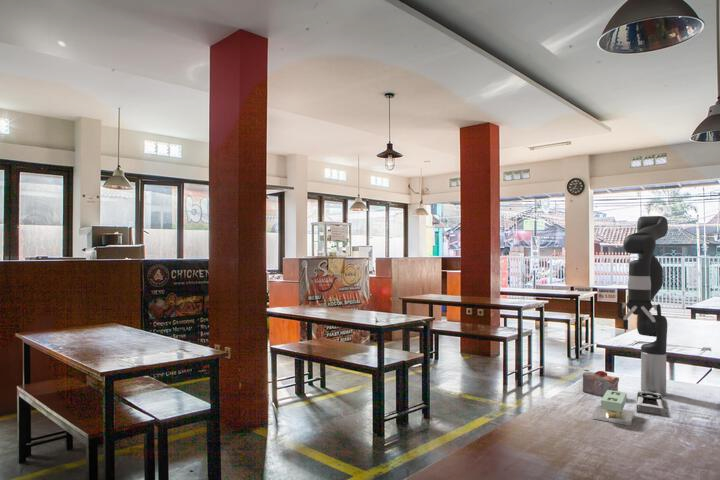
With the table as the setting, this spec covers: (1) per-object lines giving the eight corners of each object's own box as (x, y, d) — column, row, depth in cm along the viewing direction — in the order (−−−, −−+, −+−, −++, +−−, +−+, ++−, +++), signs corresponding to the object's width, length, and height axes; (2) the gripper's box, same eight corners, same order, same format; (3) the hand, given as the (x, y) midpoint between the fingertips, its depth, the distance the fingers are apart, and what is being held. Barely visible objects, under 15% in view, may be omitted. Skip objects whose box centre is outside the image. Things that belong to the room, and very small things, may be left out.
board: (607, 397, 187) (607, 389, 187) (626, 400, 183) (626, 392, 183) (600, 408, 174) (601, 400, 174) (621, 412, 170) (621, 403, 170)
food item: (621, 396, 205) (621, 372, 205) (613, 400, 199) (613, 375, 200) (588, 389, 215) (588, 366, 215) (580, 392, 210) (580, 369, 210)
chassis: (598, 409, 187) (598, 389, 187) (634, 415, 181) (634, 394, 181) (592, 418, 176) (592, 397, 176) (630, 425, 169) (630, 404, 170)
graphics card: (636, 404, 184) (636, 388, 206) (636, 414, 184) (636, 397, 206) (668, 409, 179) (664, 392, 201) (668, 418, 179) (664, 400, 201)
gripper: (661, 288, 186) (661, 331, 186) (619, 286, 194) (619, 327, 194) (660, 289, 180) (660, 334, 180) (617, 287, 188) (617, 330, 188)
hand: (639, 330), depth 187 cm, fingers open, 8 cm apart
